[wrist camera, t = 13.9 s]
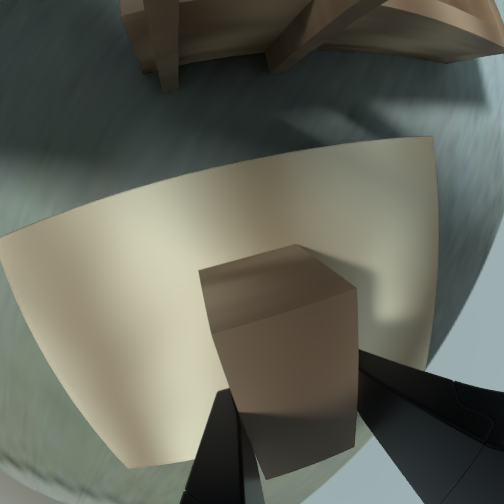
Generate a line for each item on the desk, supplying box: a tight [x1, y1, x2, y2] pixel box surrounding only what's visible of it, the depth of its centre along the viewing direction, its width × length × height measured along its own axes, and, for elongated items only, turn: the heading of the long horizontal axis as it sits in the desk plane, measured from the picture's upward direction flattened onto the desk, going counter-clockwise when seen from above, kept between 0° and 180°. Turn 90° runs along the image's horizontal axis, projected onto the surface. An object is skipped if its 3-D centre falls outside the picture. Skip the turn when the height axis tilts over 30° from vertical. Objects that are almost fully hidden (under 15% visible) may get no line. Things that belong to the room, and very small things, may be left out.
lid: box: [0, 136, 439, 480], centre depth 9 cm, size 16×11×5 cm
